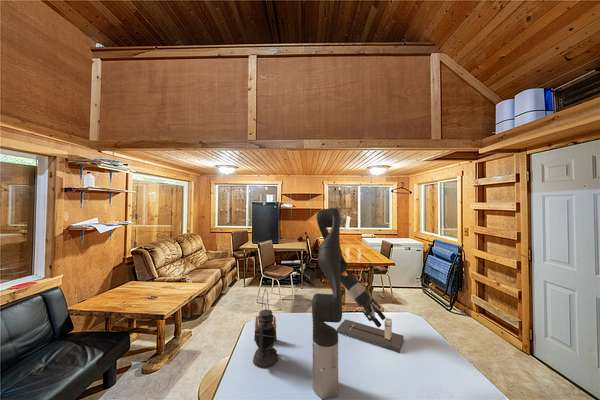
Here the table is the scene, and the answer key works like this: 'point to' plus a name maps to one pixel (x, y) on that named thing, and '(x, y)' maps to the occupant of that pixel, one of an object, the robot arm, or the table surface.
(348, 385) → the table surface
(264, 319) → the lantern
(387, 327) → the fader cap
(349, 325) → the grey fader track base
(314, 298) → the robot arm
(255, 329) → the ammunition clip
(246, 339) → the table surface
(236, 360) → the table surface
